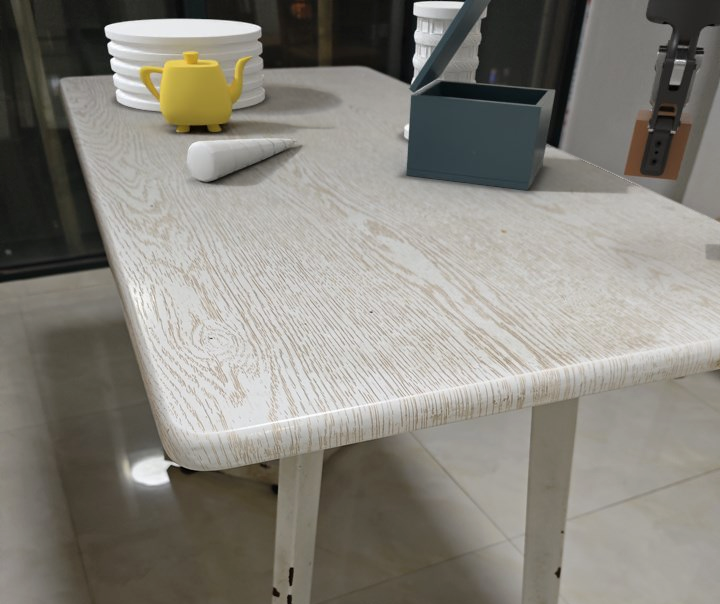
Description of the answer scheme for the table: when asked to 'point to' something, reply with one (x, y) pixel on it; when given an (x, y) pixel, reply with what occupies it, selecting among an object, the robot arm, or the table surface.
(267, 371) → the table surface
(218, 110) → the teapot
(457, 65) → the decorative container
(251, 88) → the plate stack
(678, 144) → the carton
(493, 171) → the slate grey rectangular box
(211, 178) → the unicorn horn
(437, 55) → the lid
